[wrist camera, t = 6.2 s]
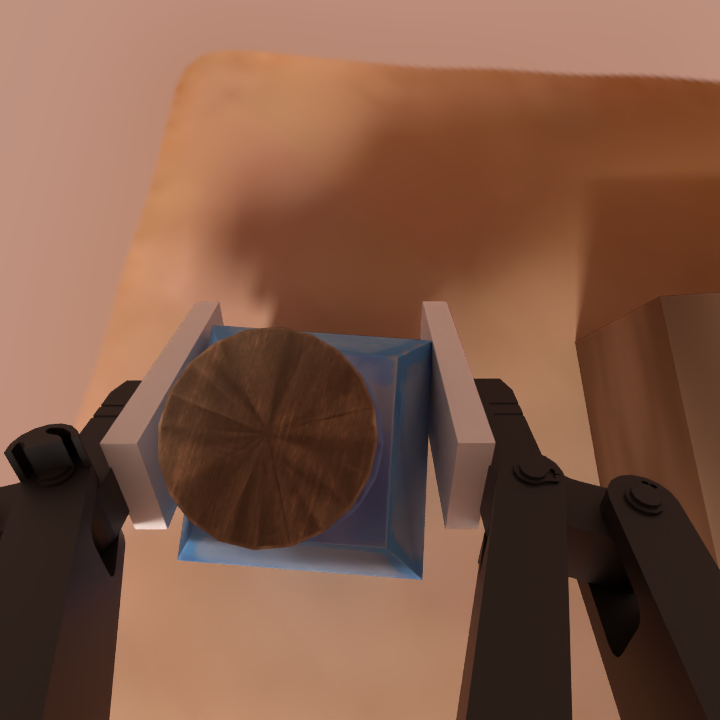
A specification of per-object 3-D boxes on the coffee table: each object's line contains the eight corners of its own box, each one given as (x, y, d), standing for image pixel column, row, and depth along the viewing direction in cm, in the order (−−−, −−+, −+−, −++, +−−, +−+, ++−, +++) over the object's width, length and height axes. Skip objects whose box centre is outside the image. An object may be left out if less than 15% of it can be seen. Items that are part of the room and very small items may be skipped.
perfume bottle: (259, 367, 19) (95, 221, 7) (409, 378, 19) (487, 247, 7) (240, 525, 18) (4, 654, 6) (401, 538, 18) (480, 694, 6)
